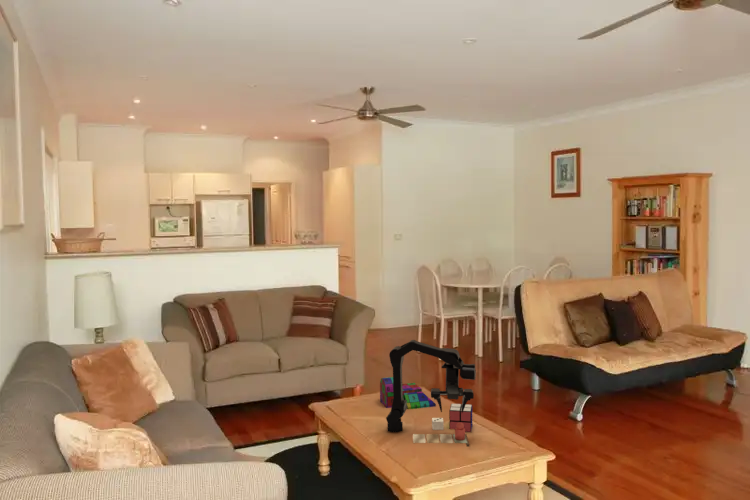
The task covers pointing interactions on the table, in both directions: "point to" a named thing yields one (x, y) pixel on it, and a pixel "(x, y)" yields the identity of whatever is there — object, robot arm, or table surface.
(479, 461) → the table surface
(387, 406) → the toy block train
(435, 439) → the board
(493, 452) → the table surface
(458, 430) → the pawn
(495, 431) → the table surface
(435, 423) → the die
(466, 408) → the puzzle cube
